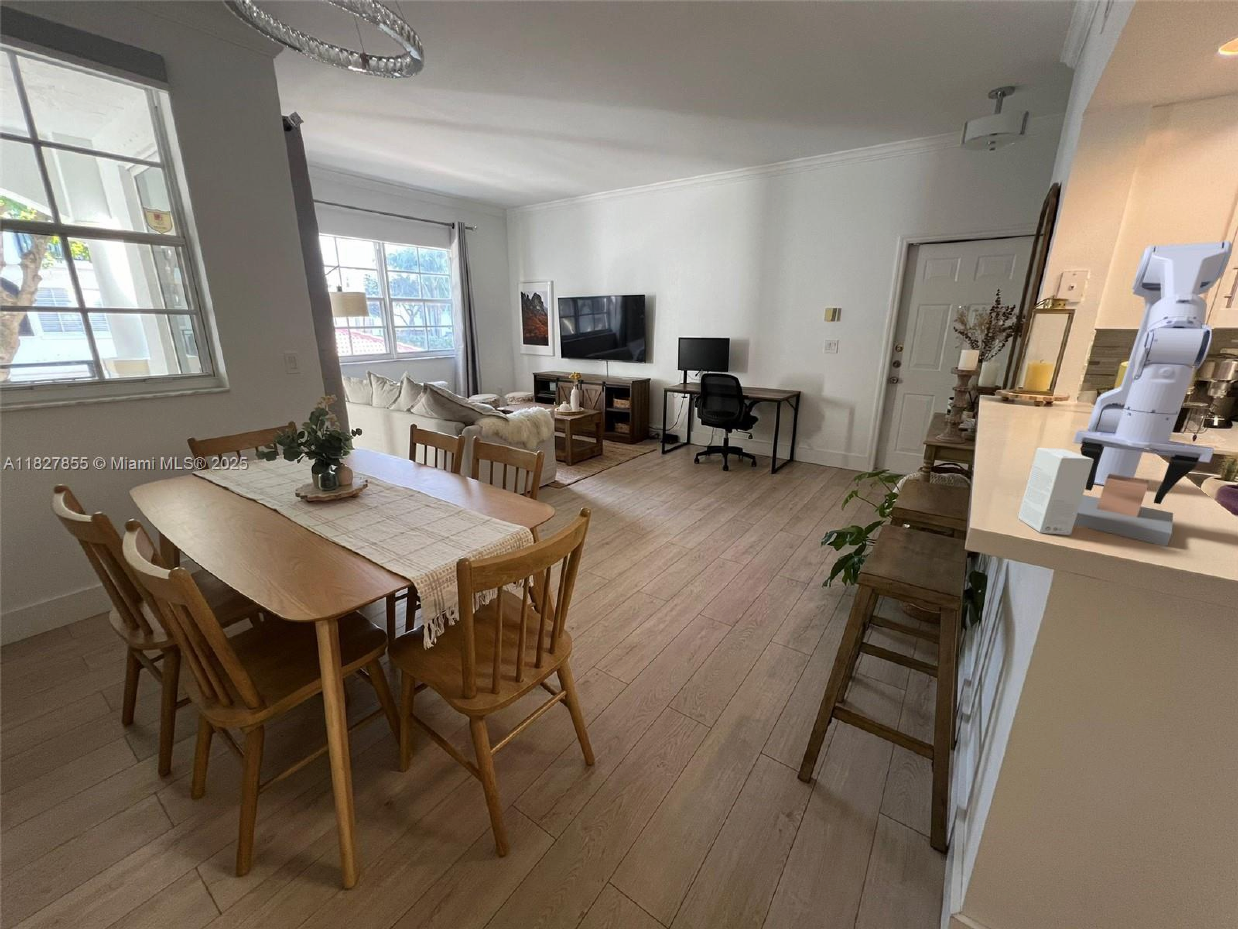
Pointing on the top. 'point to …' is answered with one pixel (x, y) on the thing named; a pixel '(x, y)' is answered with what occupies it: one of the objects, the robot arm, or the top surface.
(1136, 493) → the terracotta cube
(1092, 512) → the slate base board
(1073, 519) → the skincare box
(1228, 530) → the top surface
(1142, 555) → the top surface
